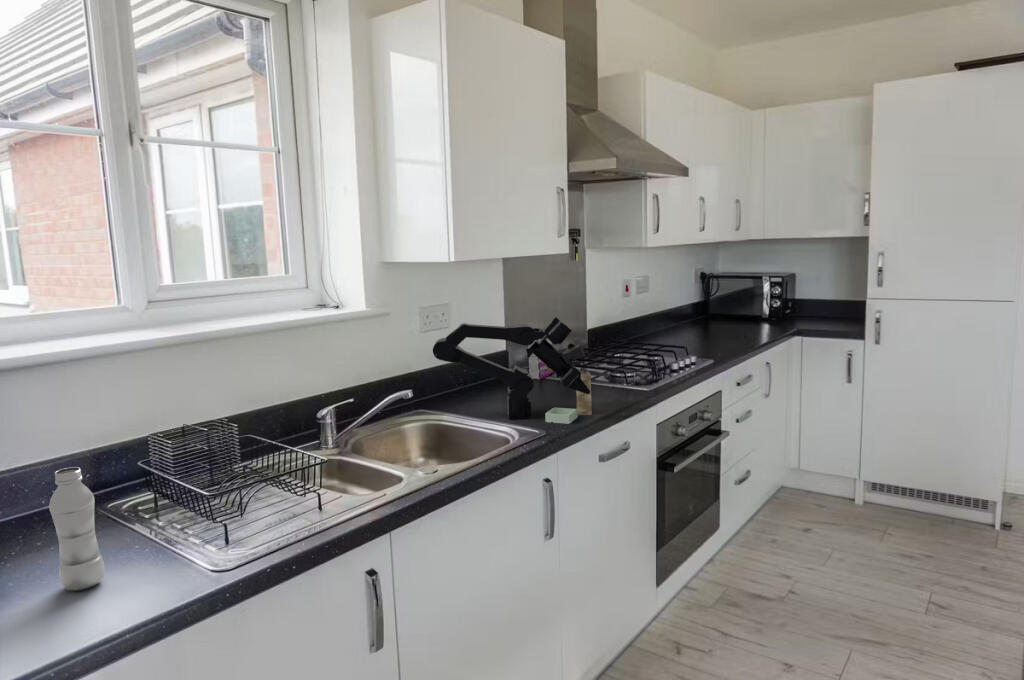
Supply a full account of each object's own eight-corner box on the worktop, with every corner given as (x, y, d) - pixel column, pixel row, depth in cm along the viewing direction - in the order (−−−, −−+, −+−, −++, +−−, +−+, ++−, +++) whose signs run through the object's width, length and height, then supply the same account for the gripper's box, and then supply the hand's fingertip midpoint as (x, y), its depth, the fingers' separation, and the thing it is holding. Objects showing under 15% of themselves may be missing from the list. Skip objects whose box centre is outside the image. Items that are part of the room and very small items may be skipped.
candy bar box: (543, 373, 278) (541, 332, 275) (554, 374, 275) (552, 333, 272) (528, 378, 268) (526, 336, 266) (539, 379, 266) (538, 337, 263)
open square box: (545, 422, 205) (545, 413, 205) (554, 415, 212) (554, 407, 212) (569, 423, 202) (569, 415, 202) (577, 417, 209) (577, 408, 209)
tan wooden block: (578, 415, 211) (577, 376, 210) (576, 412, 215) (575, 373, 214) (591, 414, 212) (590, 375, 210) (589, 411, 215) (588, 373, 214)
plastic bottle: (68, 600, 112) (51, 480, 109) (55, 587, 116) (38, 472, 114) (112, 584, 117) (96, 469, 114) (98, 572, 121) (82, 461, 118)
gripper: (571, 340, 201) (610, 376, 202) (564, 332, 219) (600, 364, 221) (545, 369, 201) (584, 404, 203) (540, 358, 220) (576, 390, 222)
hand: (587, 389), depth 212 cm, fingers open, 9 cm apart
